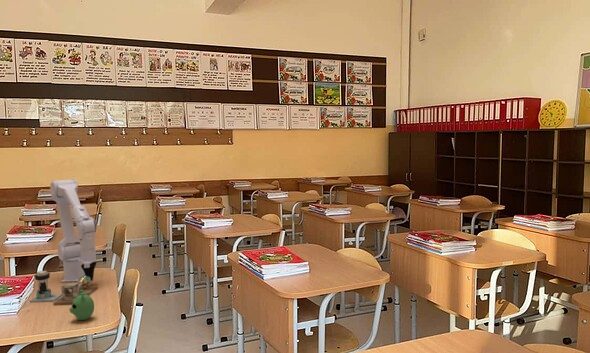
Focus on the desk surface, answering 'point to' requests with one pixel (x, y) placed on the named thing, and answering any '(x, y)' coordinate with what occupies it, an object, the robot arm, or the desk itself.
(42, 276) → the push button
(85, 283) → the shaft
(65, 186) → the robot arm
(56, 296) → the pad
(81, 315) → the alien toy
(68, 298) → the bracket
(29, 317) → the desk surface
